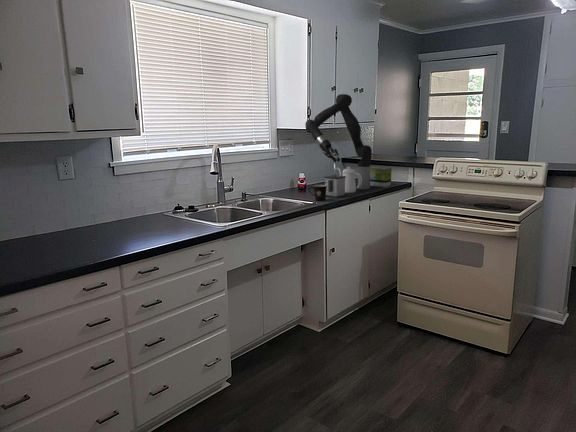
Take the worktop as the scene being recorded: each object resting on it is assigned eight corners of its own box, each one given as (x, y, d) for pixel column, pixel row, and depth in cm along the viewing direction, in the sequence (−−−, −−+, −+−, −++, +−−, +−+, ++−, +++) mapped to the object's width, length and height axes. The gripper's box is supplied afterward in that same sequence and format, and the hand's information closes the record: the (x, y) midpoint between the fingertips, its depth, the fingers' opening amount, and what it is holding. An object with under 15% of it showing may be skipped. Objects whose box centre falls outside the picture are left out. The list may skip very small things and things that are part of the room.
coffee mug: (329, 200, 294) (329, 185, 292) (320, 202, 288) (320, 187, 286) (316, 198, 302) (316, 183, 300) (307, 200, 296) (307, 185, 294)
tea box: (368, 185, 354) (368, 167, 351) (374, 184, 361) (375, 166, 358) (385, 187, 344) (385, 168, 341) (391, 185, 352) (392, 167, 348)
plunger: (333, 182, 312) (333, 155, 308) (342, 183, 307) (342, 155, 303) (327, 184, 307) (327, 156, 302) (336, 185, 302) (336, 156, 297)
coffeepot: (340, 189, 339) (340, 165, 335) (365, 192, 320) (366, 167, 316) (330, 190, 332) (330, 166, 328) (356, 194, 313) (356, 168, 309)
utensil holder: (333, 194, 316) (333, 175, 313) (345, 195, 309) (345, 176, 306) (323, 196, 307) (323, 176, 304) (335, 198, 300) (335, 178, 297)
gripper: (320, 139, 300) (334, 158, 295) (332, 138, 310) (346, 156, 305) (314, 147, 304) (328, 165, 299) (326, 146, 315) (340, 164, 310)
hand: (337, 161), depth 302 cm, fingers closed on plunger, 3 cm apart
